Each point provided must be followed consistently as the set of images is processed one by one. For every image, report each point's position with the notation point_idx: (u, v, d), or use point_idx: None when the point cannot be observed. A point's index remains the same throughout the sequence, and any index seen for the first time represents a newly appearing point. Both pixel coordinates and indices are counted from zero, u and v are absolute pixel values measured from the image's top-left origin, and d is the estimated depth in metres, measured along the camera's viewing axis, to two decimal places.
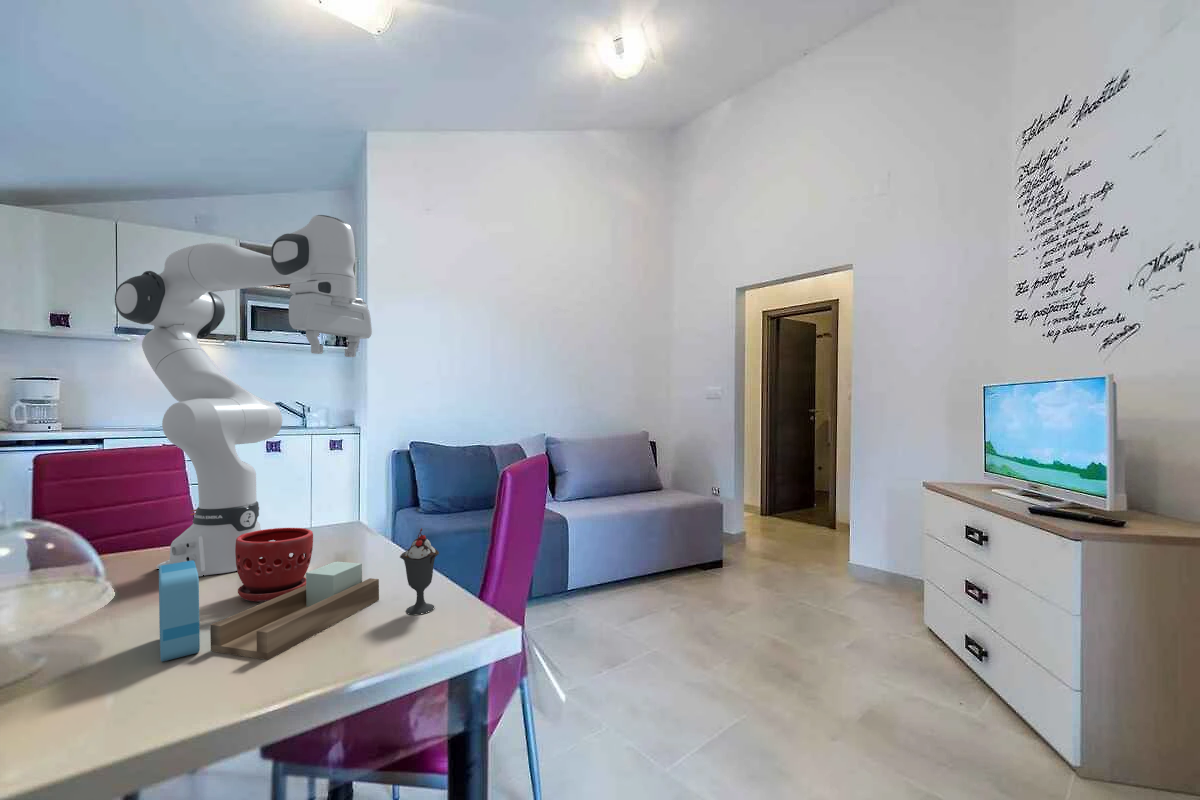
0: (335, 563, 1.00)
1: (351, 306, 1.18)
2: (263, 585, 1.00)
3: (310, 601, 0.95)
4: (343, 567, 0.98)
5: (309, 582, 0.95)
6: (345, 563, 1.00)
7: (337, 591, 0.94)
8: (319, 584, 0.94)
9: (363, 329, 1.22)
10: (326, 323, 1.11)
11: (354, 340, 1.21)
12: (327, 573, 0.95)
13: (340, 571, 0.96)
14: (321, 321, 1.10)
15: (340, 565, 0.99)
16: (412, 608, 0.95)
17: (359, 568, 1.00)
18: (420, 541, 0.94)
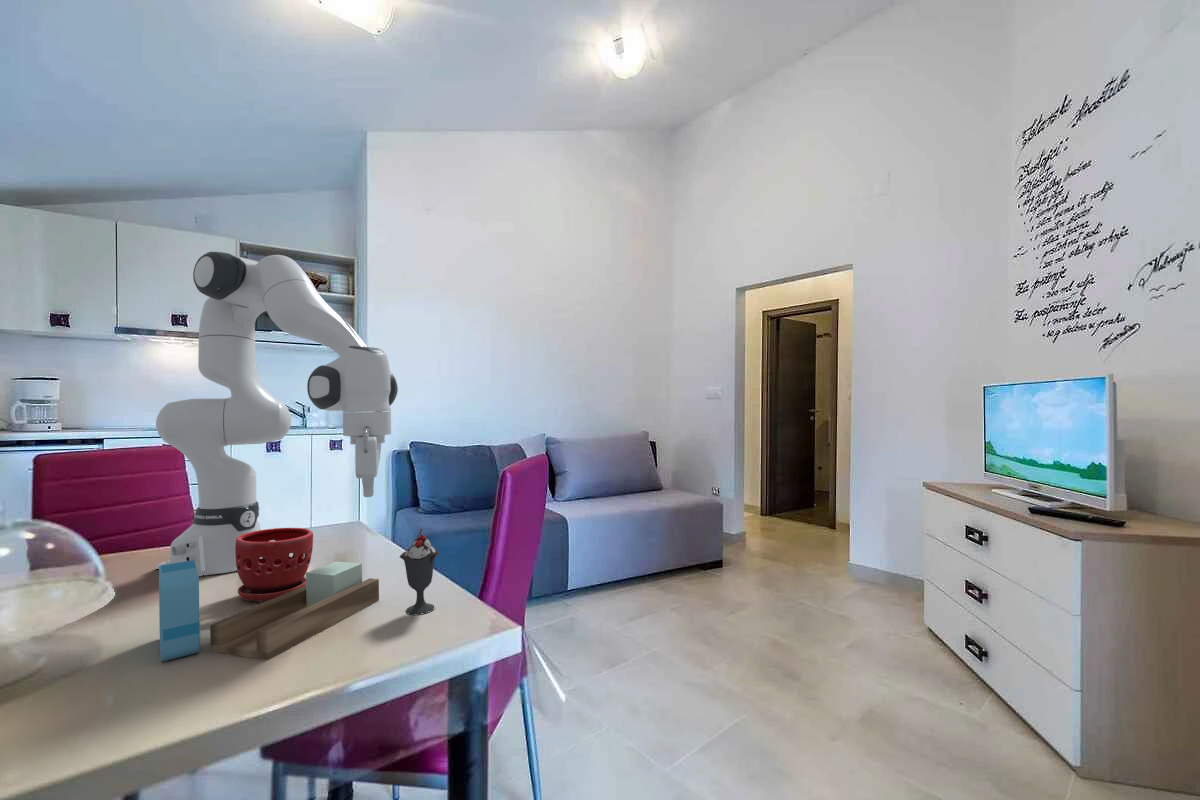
0: (335, 563, 1.00)
1: None
2: (263, 585, 1.00)
3: (310, 601, 0.95)
4: (343, 567, 0.98)
5: (309, 582, 0.95)
6: (345, 563, 1.00)
7: (337, 591, 0.94)
8: (319, 584, 0.94)
9: None
10: None
11: None
12: (327, 573, 0.95)
13: (340, 571, 0.96)
14: None
15: (340, 565, 0.99)
16: (412, 608, 0.95)
17: (359, 568, 1.00)
18: (420, 541, 0.94)
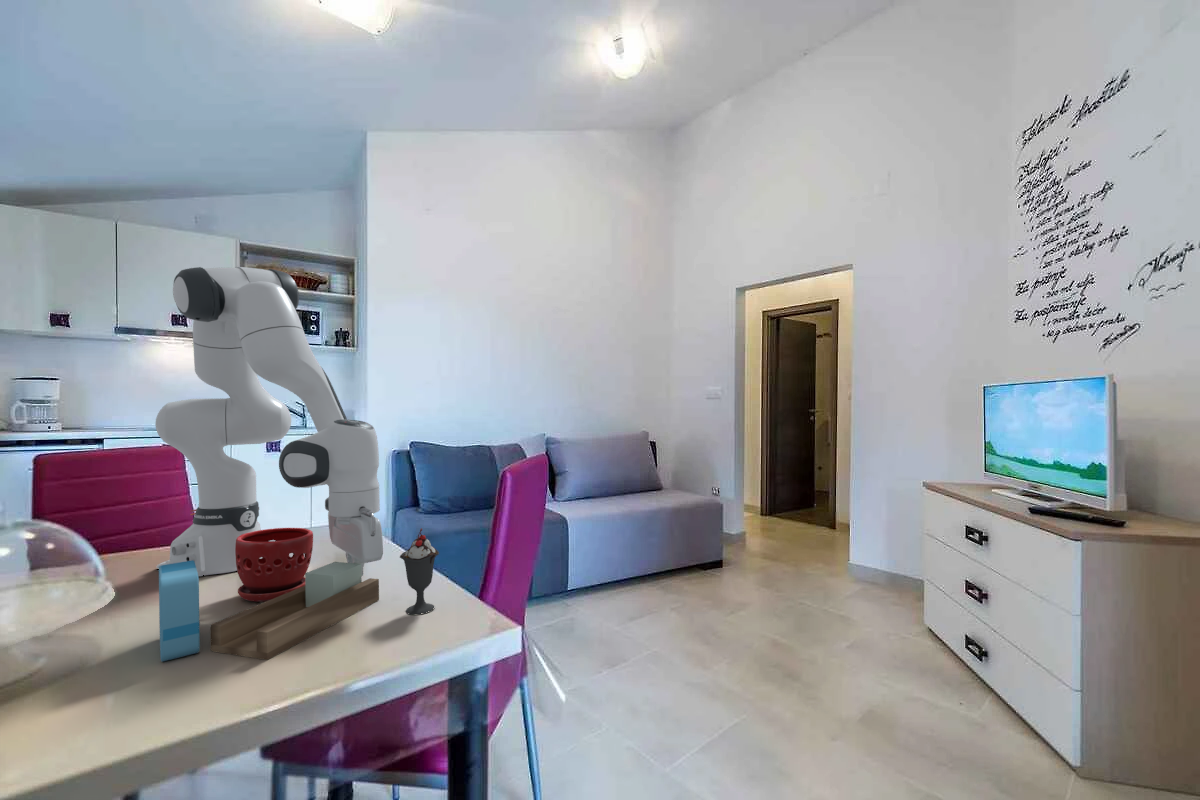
0: (334, 563, 1.00)
1: (350, 522, 0.99)
2: (263, 585, 1.00)
3: (309, 601, 0.95)
4: (342, 567, 0.98)
5: (308, 582, 0.95)
6: (344, 563, 1.00)
7: (336, 591, 0.94)
8: (318, 584, 0.94)
9: (357, 551, 0.96)
10: (339, 540, 1.04)
11: None
12: (326, 573, 0.94)
13: (340, 571, 0.96)
14: (336, 538, 1.05)
15: (339, 565, 0.99)
16: (412, 608, 0.95)
17: (359, 568, 0.99)
18: (420, 541, 0.94)
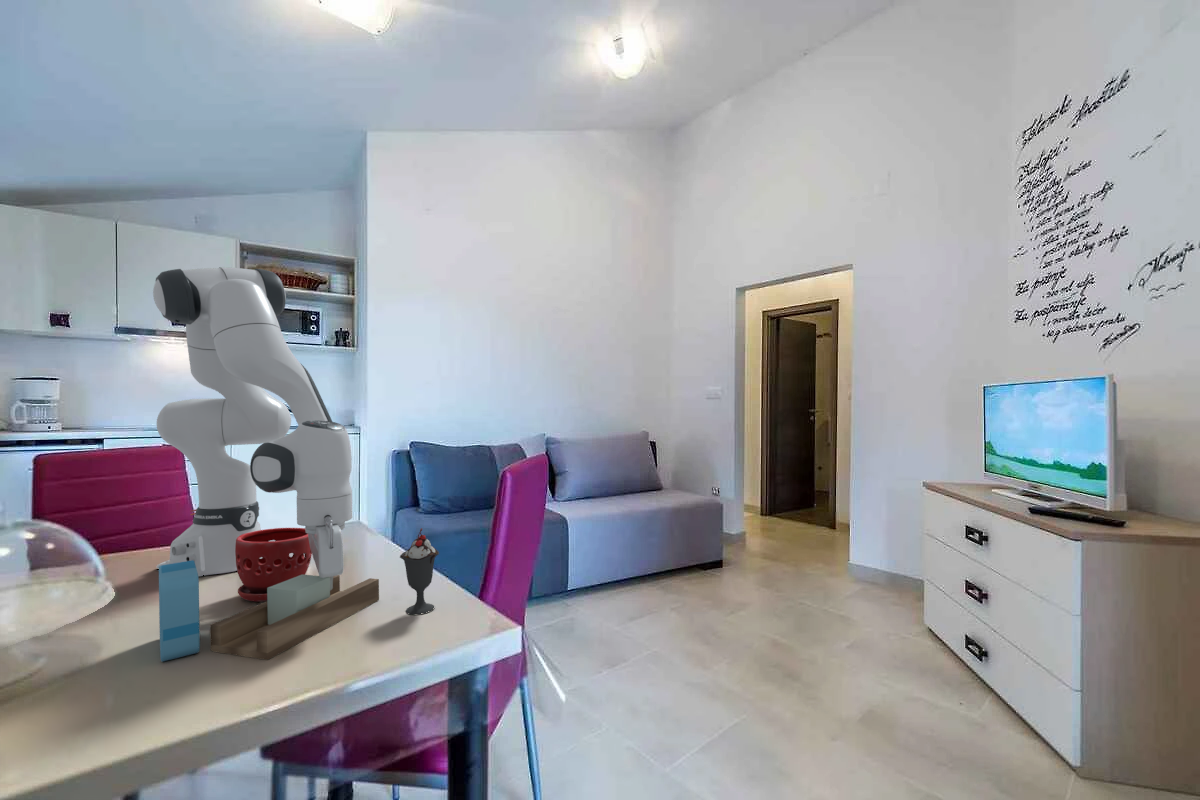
0: (301, 576, 0.93)
1: (315, 531, 0.92)
2: (263, 585, 1.00)
3: (271, 619, 0.87)
4: (309, 581, 0.90)
5: (270, 598, 0.87)
6: (311, 576, 0.93)
7: (301, 608, 0.87)
8: (281, 600, 0.87)
9: (317, 564, 0.88)
10: (312, 550, 0.98)
11: None
12: (290, 588, 0.87)
13: (305, 585, 0.88)
14: None
15: (306, 579, 0.92)
16: (412, 608, 0.95)
17: (327, 582, 0.92)
18: (420, 541, 0.94)
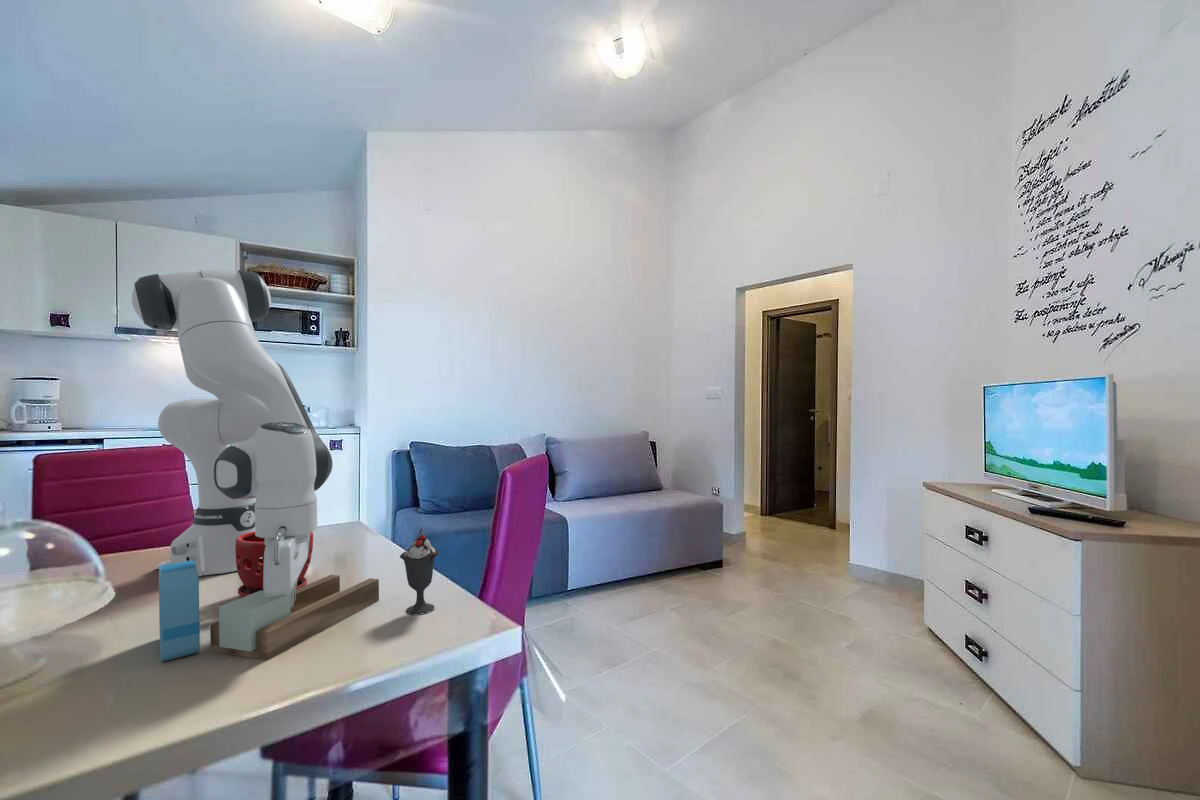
0: (259, 593, 0.85)
1: None
2: None
3: (224, 640, 0.79)
4: (266, 598, 0.83)
5: (222, 618, 0.79)
6: None
7: (255, 629, 0.79)
8: (233, 620, 0.79)
9: None
10: None
11: None
12: (244, 607, 0.79)
13: (261, 604, 0.80)
14: None
15: (264, 596, 0.84)
16: (412, 608, 0.95)
17: (287, 599, 0.84)
18: (420, 541, 0.94)
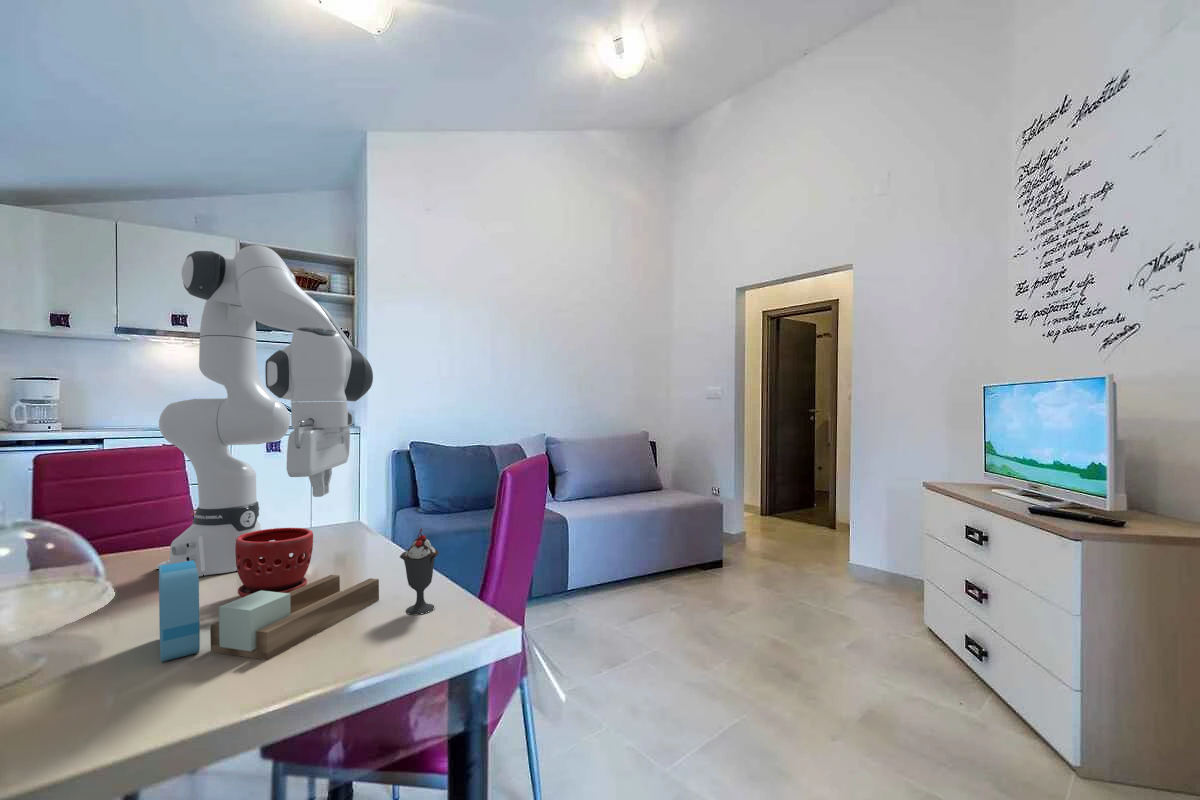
0: (259, 593, 0.85)
1: None
2: (263, 585, 1.00)
3: (224, 640, 0.79)
4: (266, 598, 0.83)
5: (223, 618, 0.79)
6: (270, 593, 0.85)
7: (255, 629, 0.79)
8: (233, 620, 0.79)
9: None
10: None
11: None
12: (244, 607, 0.79)
13: (261, 604, 0.80)
14: None
15: (264, 596, 0.84)
16: (412, 608, 0.95)
17: (287, 599, 0.84)
18: (420, 541, 0.94)
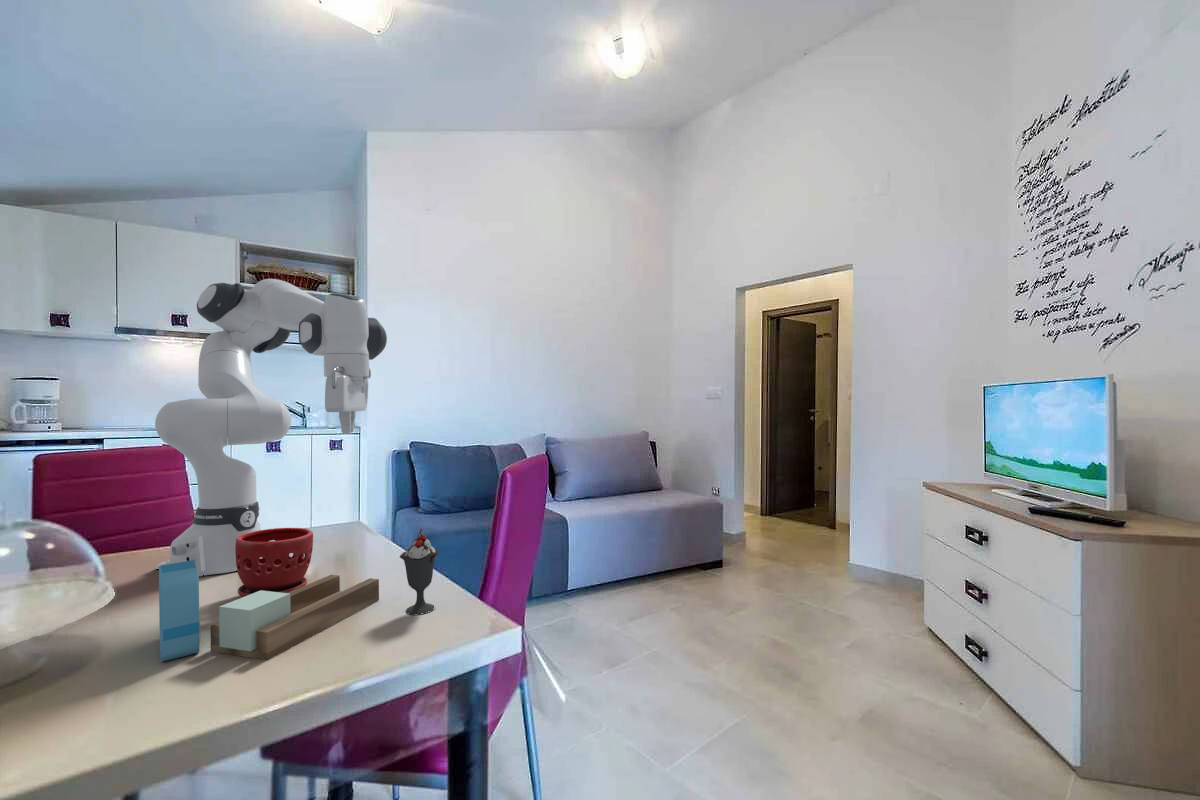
0: (259, 593, 0.85)
1: None
2: (263, 585, 1.00)
3: (224, 640, 0.79)
4: (266, 598, 0.83)
5: (223, 618, 0.79)
6: (270, 593, 0.85)
7: (255, 629, 0.79)
8: (233, 620, 0.79)
9: None
10: None
11: None
12: (244, 607, 0.79)
13: (261, 604, 0.80)
14: None
15: (264, 596, 0.84)
16: (412, 608, 0.95)
17: (287, 599, 0.84)
18: (420, 541, 0.94)
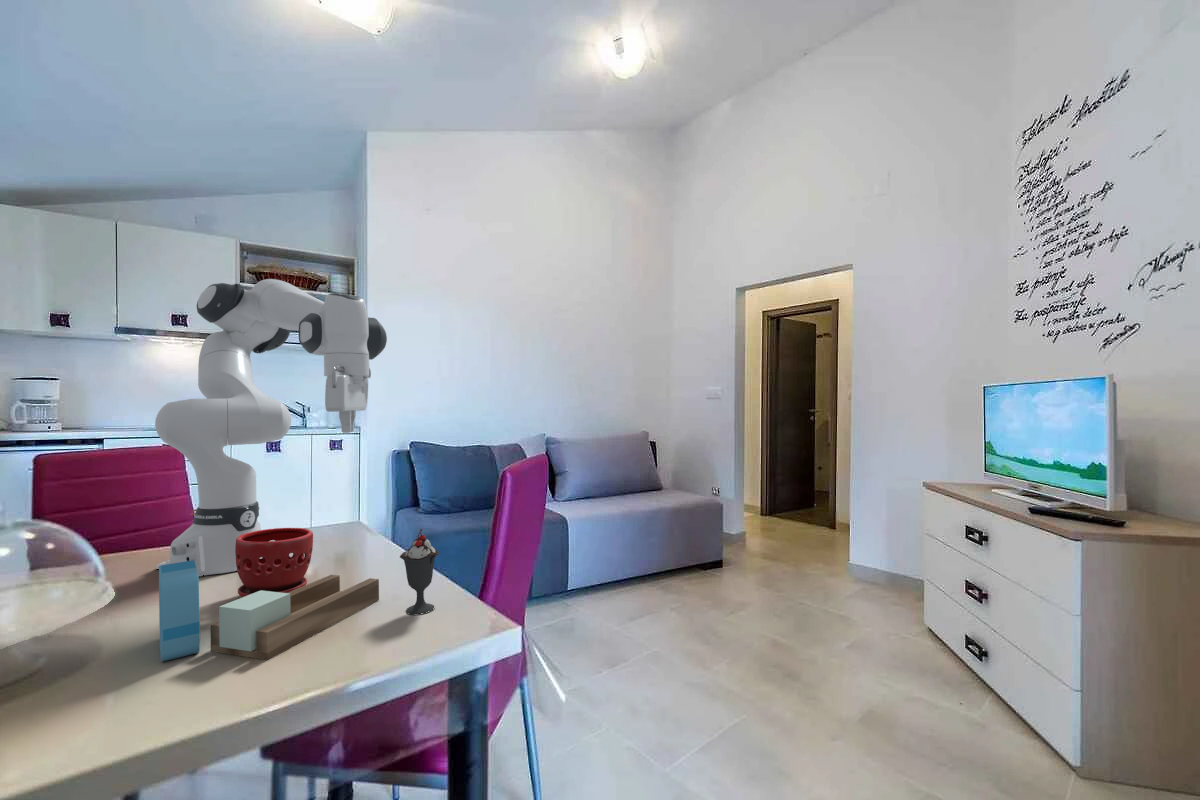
0: (259, 593, 0.85)
1: None
2: (263, 585, 1.00)
3: (224, 640, 0.79)
4: (266, 598, 0.83)
5: (223, 618, 0.79)
6: (270, 593, 0.85)
7: (255, 629, 0.79)
8: (233, 620, 0.79)
9: None
10: None
11: None
12: (244, 607, 0.79)
13: (261, 604, 0.80)
14: None
15: (264, 596, 0.84)
16: (412, 608, 0.95)
17: (287, 599, 0.84)
18: (420, 541, 0.94)
